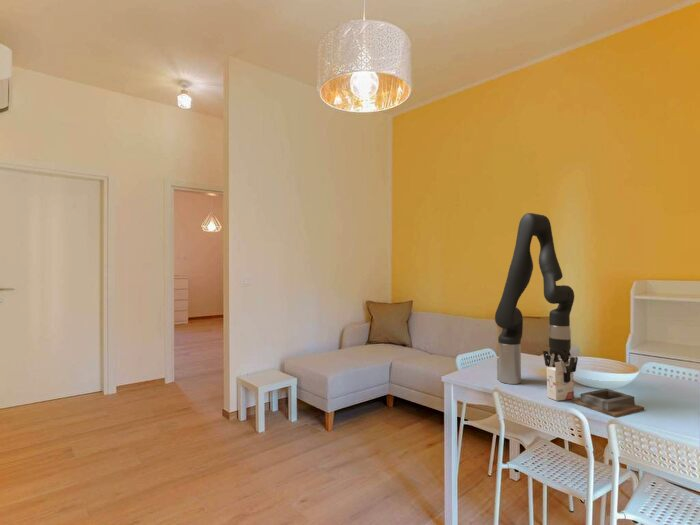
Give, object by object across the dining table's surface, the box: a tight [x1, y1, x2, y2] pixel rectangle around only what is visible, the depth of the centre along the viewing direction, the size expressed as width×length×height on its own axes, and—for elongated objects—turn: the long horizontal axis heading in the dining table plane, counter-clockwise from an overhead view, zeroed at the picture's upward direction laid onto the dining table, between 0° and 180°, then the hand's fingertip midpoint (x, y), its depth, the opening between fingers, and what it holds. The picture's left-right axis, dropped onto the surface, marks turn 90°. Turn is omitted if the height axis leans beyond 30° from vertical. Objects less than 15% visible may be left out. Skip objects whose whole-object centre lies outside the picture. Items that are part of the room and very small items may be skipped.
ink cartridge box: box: [546, 361, 575, 402], centre depth 154 cm, size 9×5×15 cm, turn 105°
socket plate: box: [571, 388, 645, 418], centre depth 145 cm, size 16×16×4 cm
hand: (560, 380), depth 154 cm, fingers closed on ink cartridge box, 5 cm apart
